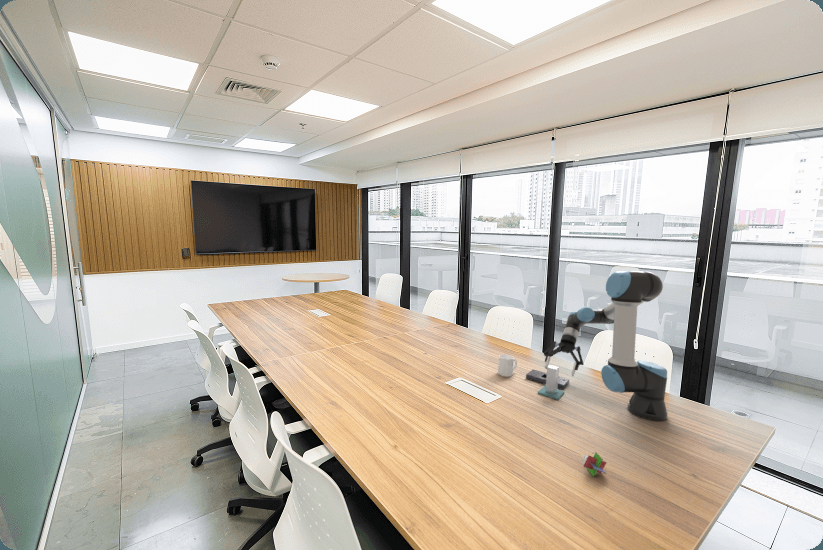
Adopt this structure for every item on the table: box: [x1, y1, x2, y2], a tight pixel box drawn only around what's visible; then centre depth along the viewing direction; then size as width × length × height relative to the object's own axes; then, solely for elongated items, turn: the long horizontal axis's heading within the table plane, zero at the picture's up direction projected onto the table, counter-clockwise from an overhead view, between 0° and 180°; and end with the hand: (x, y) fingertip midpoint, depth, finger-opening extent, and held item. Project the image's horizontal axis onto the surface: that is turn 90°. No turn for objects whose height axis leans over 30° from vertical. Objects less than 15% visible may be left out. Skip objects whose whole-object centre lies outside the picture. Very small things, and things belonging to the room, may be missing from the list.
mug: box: [497, 354, 518, 378], centre depth 202 cm, size 12×8×10 cm
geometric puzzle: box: [581, 451, 607, 478], centre depth 119 cm, size 7×7×8 cm
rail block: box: [525, 368, 570, 390], centre depth 193 cm, size 20×10×2 cm, turn 50°
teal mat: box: [537, 385, 565, 401], centre depth 178 cm, size 10×10×1 cm
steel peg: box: [545, 364, 560, 394], centre depth 177 cm, size 4×4×13 cm
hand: (558, 371), depth 185 cm, fingers open, 13 cm apart
